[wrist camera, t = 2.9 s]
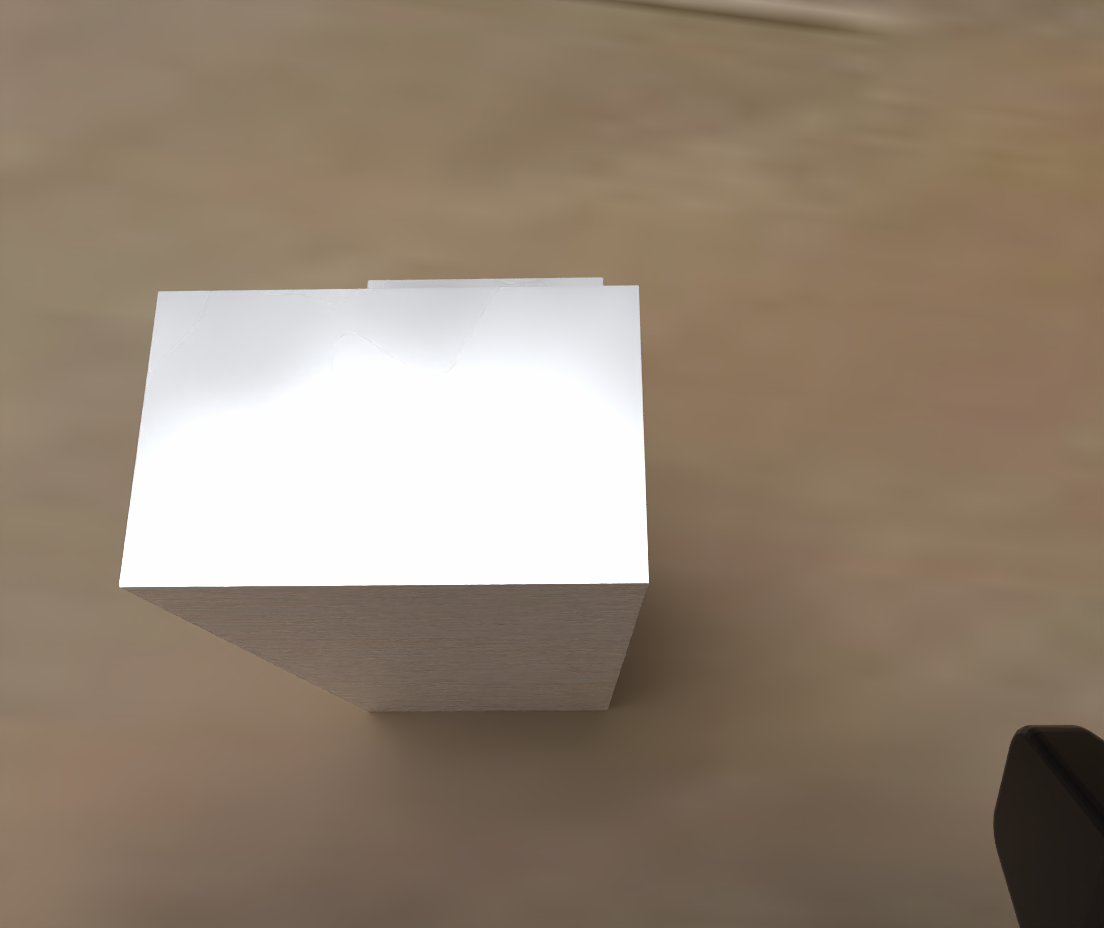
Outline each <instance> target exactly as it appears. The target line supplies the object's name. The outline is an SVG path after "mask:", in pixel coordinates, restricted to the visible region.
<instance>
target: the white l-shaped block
mask: <svg viewBox="0 0 1104 928" xmlns="http://www.w3.org/2000/svg"><path fill="white" fill-rule="evenodd" d="M648 583H649V580H648V550H647V520H646V491H645V461H644V432H643V402H642V373H641V343H640V313H639V286H603V278H530V279H451V280H372V281H368V289H325V290H246V291H166V292H158V299H157V307H156V314H155V322H154V329H153V337H152V344H151V352H150V359H149V367H148V374H147V382H146V389H145V397H144V404H143V412H142V419H141V427H140V434H139V442H138V449H137V457H136V464H135V472H134V479H133V487H132V494H131V502H130V509H129V517H128V524H127V532H126V540H125V547H124V555H123V562H122V570H121V577H120V585H119V587H121V588H123V589H125V590H127V591H129V592H131V593H133V594H135V595H137V596H139V597H141V598H143V599H145V600H147V601H149V602H151V603H153V604H155V605H157V606H159V607H161V608H162V609H164V610H166V611H168V612H170V613H172V614H174V615H176V616H178V617H180V618H182V619H184V620H186V621H188V622H190V623H192V624H194V625H196V626H198V627H200V628H202V629H204V630H206V631H208V632H210V633H212V634H214V635H216V636H218V637H220V638H222V639H224V640H226V641H228V642H230V643H232V644H234V645H236V646H238V647H240V648H242V649H244V650H246V651H248V652H250V653H252V654H254V655H256V656H258V657H260V658H262V659H264V660H266V661H268V662H270V663H272V664H274V665H276V666H278V667H280V668H282V669H284V670H286V671H288V672H290V673H292V674H294V675H296V676H298V677H300V678H302V679H304V680H306V681H308V682H310V683H312V684H314V685H316V686H318V687H320V688H322V689H324V690H326V691H328V692H330V693H332V694H334V695H336V696H338V697H340V698H342V699H344V700H346V701H348V702H350V703H352V704H354V705H356V706H358V707H360V708H362V709H364V710H366V711H368V712H389V711H581V710H608V707H609V704H610V701H611V698H612V695H613V692H614V689H615V686H616V682H617V679H618V676H619V673H620V670H621V667H622V664H623V661H624V658H625V655H626V651H627V648H628V645H629V642H630V639H631V636H632V633H633V630H634V627H635V624H636V620H637V617H638V614H639V611H640V608H641V605H642V602H643V599H644V596H645V592H646V589H647V586H648Z"/></svg>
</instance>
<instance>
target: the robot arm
mask: <svg viewBox="0 0 1104 928" xmlns="http://www.w3.org/2000/svg"><path fill="white" fill-rule="evenodd" d="M993 827H994V838H995V844H996V848H997V852H998V856H999V859H1000V862H1001V866H1002V869H1003V872H1004V876H1005V879H1006V883H1007V886H1008V889H1009V893H1010V896H1011V900H1012V903H1013V906H1014V910H1015V913H1016V917H1017V920H1018V923H1019V927H1020V928H1104V740H1103V739H1101V738H1100V737H1098V736H1097V735H1095V734H1094V733H1092V732H1090V731H1089V730H1087V729H1085V728H1083V727H1080V726H1075V725H1028V726H1024V727H1022V728H1020V729H1019V730H1017V732H1016V733H1015V735H1014V736H1013V738H1012V741H1011V744H1010V747H1009V752H1008V756H1007V760H1006V764H1005V768H1004V773H1003V777H1002V781H1001V785H1000V789H999V794H998V798H997V802H996V806H995V811H994V822H993Z"/></svg>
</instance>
